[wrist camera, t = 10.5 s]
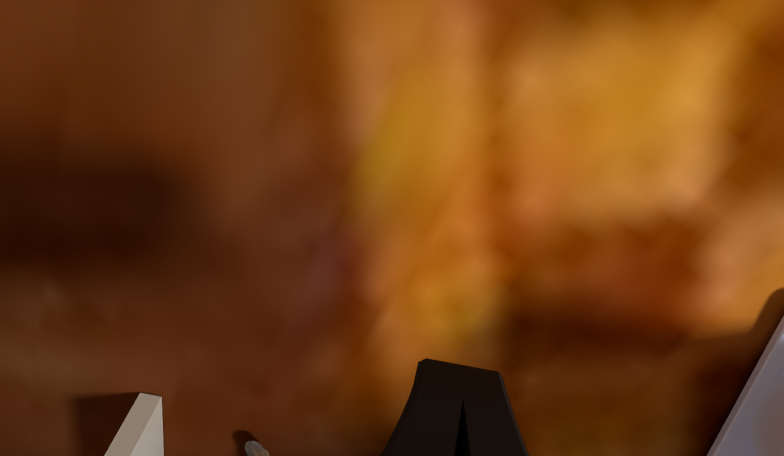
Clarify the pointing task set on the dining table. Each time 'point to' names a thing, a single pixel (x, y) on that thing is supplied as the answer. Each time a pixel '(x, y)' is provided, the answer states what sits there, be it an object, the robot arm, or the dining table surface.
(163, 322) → the dining table surface
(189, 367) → the dining table surface
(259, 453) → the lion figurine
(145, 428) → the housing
